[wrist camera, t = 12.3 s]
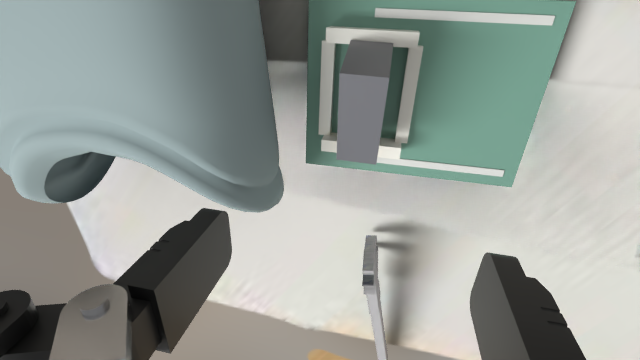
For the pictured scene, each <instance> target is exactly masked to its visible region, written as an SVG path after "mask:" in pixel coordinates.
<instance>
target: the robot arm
mask: <svg viewBox="0 0 640 360" xmlns="http://www.w3.org/2000/svg"><path fill="white" fill-rule="evenodd" d="M231 254H232V246H231V236H230V227H229V218H228V214H227V212H225V211H219V210H213V209H206V208H203V209H201V210H200V211H199V212H198V213H197V214H196V215H195V216H194V217H193V218H192V219H191V220H190V221H183V222H182V223H180V224H178V225H176V226H174V227H172V228H170V229H169V230H168V231H167V232H166V233H165V234H164V235H163V236H162V237H161V238H160V239H159V242H156V243H155V244H154V245H153V246H152V247H151V248H150V250H148V251H147V252H146V253H144V254H143V255H142V256H141V257H140V258H139V259H138V260H137V261H136V262H135V263H134V264H133V265H132V266H131V267H130V268H129V269H128V270H127V271H126V272H125V273H124V274H123V275H122V276H121V277H120V278H119V279H118V280H117V281H116V282H115V283H114V284H105V285H100V286H95V287H92V288H90V289H87V290H85V291H83V292H81V293H79V294H78V295H76V296H75V297H74V298H72V299H71V300H70V301H69V302H68V303H66V304H54V305H41V306H35V305H34V303H33V301H32V299H31V297H30V295H29V294H28V293H27V292H25V291H21V290H9V291H3V292H0V360H149V358H150V357H151V355H152V354H153V352H154V351H155V350H158V351H162V352H166V353H171V352H172V351H173V349H174V347H175V346H176V344H177V343H178V341H179V340H180V338H181V337H182V335H183V334H184V332H185V330H186V329H187V328H188V326H189V325H190V323H191V322H192V320H193V319H194V317H195V315H196V314H197V312H198V311H199V309H200V308H201V306H202V305H203V303H204V302H205V300H206V299H207V297H208V296H209V294H210V293H211V291H212V290H213V288H214V287H215V285H216V284H217V282H218V280H219V279H220V277H221V276H222V274H223V273H224V271H225V270H226V268H227V267H228V265H229V262H230V259H231ZM470 311H471V316H472V320H473V324H474V329H475V333H476V337H477V341H478V345H479V350H480V354H481V358H482V360H586V358H585V357H584V355H583V353H582V351H581V349H580V347H579V345H578V343H577V342H576V340H575V338H574V336H573V334H572V332H571V330H570V328H567V323H566V321H565V319H564V317H563V315H562V314H561V313H560V310H559V308H558V306H557V304H556V302H555V300H554V298H553V297H552V295H551V293H550V292H549V291H548V290H547V289H546V288H545V287H544V286H543V285H542V284H541V283H540V282H539V281H538V280H536V279H535V278H530V277H526V275H525V273H524V271H523V269H522V267H521V265H520V263H519V261H518V259H517V258H516V257H513V256H506V255H500V254H493V253H486V254H485V255H484V256H483V259H482V262H481V265H480V268H479V271H478V273H477V276H476V279H475V282H474V285H473V288H472V291H471V296H470Z"/></svg>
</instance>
